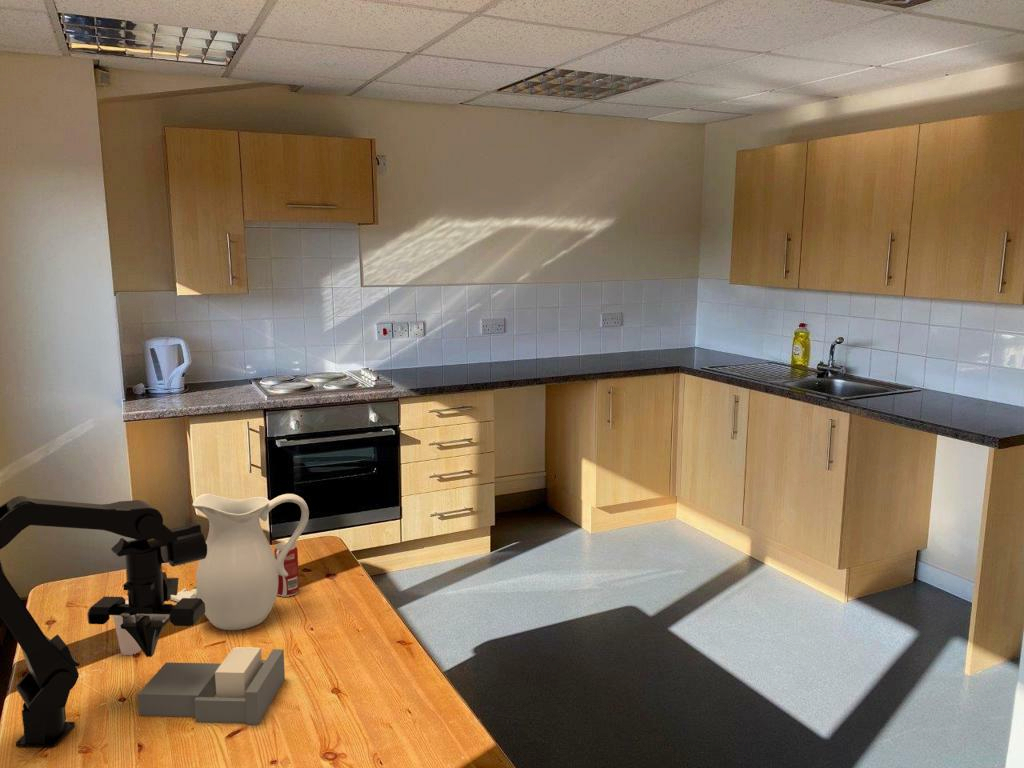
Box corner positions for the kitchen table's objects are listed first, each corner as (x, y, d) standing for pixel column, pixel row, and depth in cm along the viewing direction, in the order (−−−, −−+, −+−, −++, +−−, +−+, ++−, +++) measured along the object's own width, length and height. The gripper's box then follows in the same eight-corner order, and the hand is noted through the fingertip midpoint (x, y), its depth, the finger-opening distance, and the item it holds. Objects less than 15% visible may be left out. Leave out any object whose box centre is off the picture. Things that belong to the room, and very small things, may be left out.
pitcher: (194, 641, 168) (186, 511, 163) (202, 607, 184) (195, 488, 180) (313, 628, 174) (309, 503, 170) (311, 596, 190) (307, 481, 186)
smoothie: (135, 660, 160) (130, 593, 158) (106, 657, 161) (101, 590, 159) (155, 645, 166) (150, 580, 164) (127, 642, 168) (122, 577, 165)
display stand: (258, 724, 139) (256, 692, 138) (133, 722, 139) (131, 689, 138) (284, 679, 154) (283, 649, 153) (172, 676, 154) (170, 647, 153)
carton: (217, 714, 142) (245, 715, 142) (214, 672, 141) (243, 672, 141) (236, 687, 151) (262, 688, 151) (233, 647, 150) (260, 647, 149)
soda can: (274, 590, 193) (272, 542, 191) (296, 587, 195) (295, 539, 193) (278, 599, 188) (276, 549, 187) (300, 595, 191) (299, 546, 189)
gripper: (215, 556, 151) (219, 635, 153) (115, 554, 151) (121, 633, 154) (189, 581, 140) (194, 665, 142) (82, 578, 140) (89, 663, 143)
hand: (150, 655), depth 146 cm, fingers closed
